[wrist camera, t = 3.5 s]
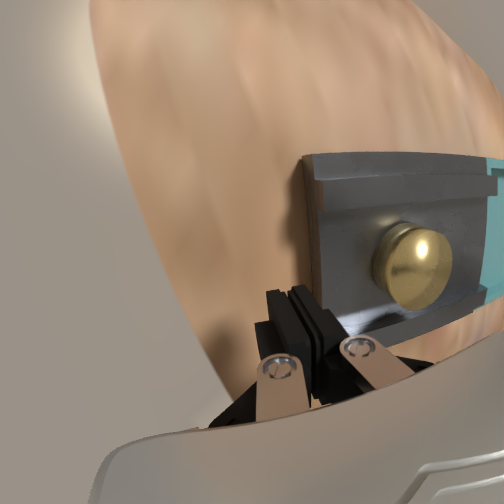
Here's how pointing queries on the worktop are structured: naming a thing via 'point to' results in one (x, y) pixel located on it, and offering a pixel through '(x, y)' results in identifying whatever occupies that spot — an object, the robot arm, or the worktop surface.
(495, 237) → the tray
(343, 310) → the slot plate
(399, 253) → the brass puck
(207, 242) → the worktop surface
